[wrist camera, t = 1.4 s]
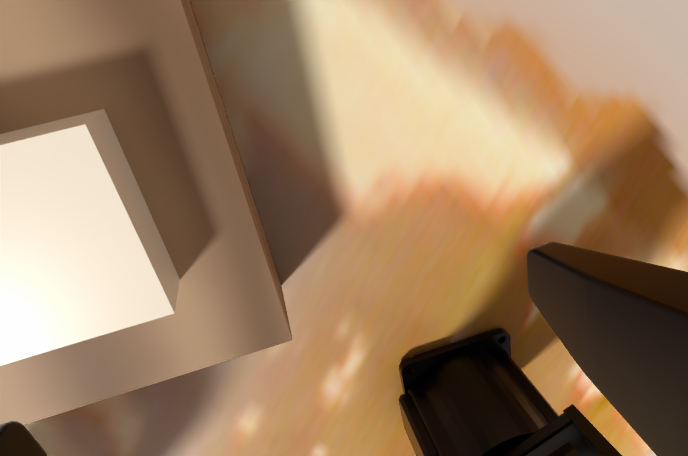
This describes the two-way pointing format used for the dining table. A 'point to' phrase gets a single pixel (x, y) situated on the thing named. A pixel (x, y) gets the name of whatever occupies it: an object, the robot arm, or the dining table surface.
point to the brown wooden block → (144, 191)
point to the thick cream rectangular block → (75, 239)
